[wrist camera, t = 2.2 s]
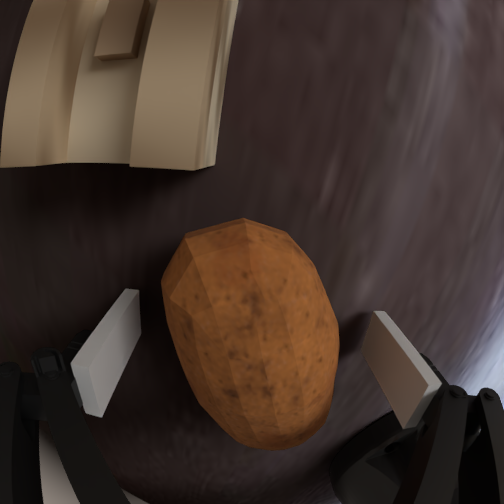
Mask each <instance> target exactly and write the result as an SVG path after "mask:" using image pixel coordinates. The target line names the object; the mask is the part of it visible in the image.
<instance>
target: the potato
mask: <svg viewBox="0 0 504 504" xmlns="http://www.w3.org/2000/svg"><path fill="white" fill-rule="evenodd" d="M161 287H162V293H163V300H164V306H165V312H166V318H167V323H168V326H169V330H170V333H171V336H172V339H173V342H174V345H175V349H176V352H177V355H178V357H179V360H180V363H181V365H182V368H183V370H184V373H185V375H186V378H187V380H188V382H189V384H190V386H191V388H192V390H193V392H194V394H195V396H196V398H197V400H198V402H199V404H200V405H201V406H202V407H203V408H204V409H205V410H206V411H207V412H208V414H209V415H210V416H211V417H212V418H213V419H214V420H215V421H216V422H217V423H218V424H219V425H220V427H221V428H222V429H223V430H224V431H226V432H227V433H228V434H229V435H230V436H231V437H232V438H234V439H235V440H236V441H237V442H239V443H242V444H244V445H246V446H248V447H251V448H257V449H264V450H271V451H273V450H284V449H288V448H291V447H295V446H298V445H300V444H302V443H304V442H305V441H306V440H308V439H309V438H310V437H311V436H313V435H314V434H315V433H316V432H317V431H318V430H319V429H320V428H321V427H322V426H323V425H324V423H325V421H326V419H327V416H328V413H329V410H330V406H331V402H332V397H333V392H334V379H335V374H336V370H337V365H338V356H339V329H338V322H337V320H336V317H335V315H334V312H333V310H332V307H331V304H330V302H329V300H328V297H327V295H326V292H325V290H324V287H323V285H322V282H321V280H320V278H319V275H318V273H317V270H316V268H315V266H314V264H313V263H312V261H311V260H310V259H309V258H308V256H307V255H306V254H305V253H304V252H303V251H302V249H301V248H300V247H299V246H298V245H297V244H296V243H295V242H294V240H293V239H292V238H291V237H290V236H289V235H288V234H287V233H286V232H285V231H282V230H279V229H276V228H273V227H270V226H267V225H264V224H260V223H257V222H254V221H251V220H248V219H245V218H241V219H237V220H233V221H229V222H226V223H222V224H218V225H215V226H211V227H207V228H203V229H200V230H196V231H193V232H189V233H186V234H185V236H184V237H183V239H182V241H181V243H180V244H179V246H178V248H177V250H176V252H175V253H174V255H173V257H172V259H171V261H170V262H169V264H168V266H167V268H166V270H165V271H164V274H163V277H162V280H161Z"/></svg>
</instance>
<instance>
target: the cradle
mask: <svg viewBox="0 0 504 504" xmlns="http://www.w3.org/2000/svg"><path fill="white" fill-rule="evenodd" d="M237 6H238V0H33V3H32V5H31V8H30V11H29V13H28V16H27V19H26V22H25V25H24V28H23V31H22V35H21V38H20V42H19V45H18V49H17V53H16V56H15V60H14V65H13V69H12V74H11V78H10V83H9V89H8V94H7V100H6V107H5V114H4V122H3V132H2V143H1V160H0V168H4V167H24V166H40V165H49V164H59V163H128V164H130V167H148V168H165V169H180V170H198V169H201V168H205V167H209V166H213V165H215V158H216V149H217V141H218V132H219V124H220V116H221V109H222V101H223V94H224V87H225V80H226V73H227V66H228V60H229V53H230V47H231V41H232V35H233V29H234V23H235V17H236V11H237Z"/></svg>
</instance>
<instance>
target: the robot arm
mask: <svg viewBox="0 0 504 504" xmlns="http://www.w3.org/2000/svg"><path fill="white" fill-rule="evenodd" d="M140 335H141V322H140V303H139V290H134V289H125V290H124V291H123V293H122V294H121V295H120V297H119V298H118V299H117V300H116V302H115V303H114V304H113V306H112V307H111V308H110V310H109V311H108V312H107V314H106V315H105V316H104V317H103V319H102V320H101V322H100V323H99V324H98V326H97V327H96V328H95V330H94V331H89V330H83V331H81V332H80V333H78V334H76V336H75V337H74V338H73V340H72V341H71V342H70V343H69V345H68V346H67V347H66V349H65V350H64V351H63V353H62V354H61V353H60V351H59V350H57V349H55V348H52V347H43V348H40V349H38V350H36V351H35V352H34V353H33V354H32V355H31V363H32V366H33V369H34V372H35V373H24V372H21V369H20V367H19V366H18V364H16V363H14V362H4V363H1V364H0V504H43V497H42V488H41V476H40V461H39V420H43V421H48V424H49V427H50V430H51V434H52V437H53V440H54V442H55V445H56V448H57V451H58V454H59V456H60V459H61V462H62V464H63V466H64V469H65V471H66V474H67V476H68V479H69V481H70V483H71V485H72V487H73V490H74V492H75V494H76V496H77V498H78V500H79V502H80V504H130V502H129V501H128V499H127V498H126V496H125V494H124V493H123V491H122V490H121V488H120V486H119V485H118V483H117V481H116V480H115V478H114V476H113V474H112V473H111V471H110V469H109V467H108V465H107V464H106V462H105V460H104V458H103V456H102V454H101V452H100V450H99V448H98V446H97V444H96V442H95V440H94V438H93V436H92V434H91V432H90V430H89V427H88V425H87V423H86V421H85V419H84V416H83V414H82V412H81V409H80V408H81V406H82V404H83V407H84V410H85V413H87V414H91V415H94V416H98V417H102V416H103V414H104V412H105V409H106V407H107V405H108V403H109V400H110V398H111V396H112V394H113V392H114V389H115V387H116V385H117V383H118V381H119V379H120V376H121V374H122V372H123V370H124V368H125V366H126V364H127V362H128V360H129V358H130V355H131V353H132V351H133V349H134V347H135V345H136V343H137V341H138V339H139V337H140ZM361 352H362V354H363V356H364V358H365V359H366V361H367V363H368V365H369V367H370V368H371V370H372V372H373V374H374V376H375V377H376V379H377V381H378V383H379V385H380V387H381V388H382V390H383V392H384V394H385V396H386V398H387V400H388V401H389V403H390V405H391V407H392V409H393V411H394V412H393V413H391V414H389V415H387V416H386V417H384V418H382V419H380V420H379V421H377V422H376V423H374V424H373V425H371V426H369V427H368V428H367V429H365V430H364V431H362V432H361V433H360V434H358V435H357V436H356V437H355V438H353V439H352V440H351V441H350V442H349V443H348V444H347V445H346V446H345V447H344V448H343V449H342V450H341V451H340V452H339V453H338V454H337V456H336V457H335V458H334V460H333V462H332V464H331V466H330V471H329V474H330V478H331V482H332V486H333V490H334V493H335V495H336V496H337V498H338V499H339V500H340V502H341V503H342V504H504V409H503V406H502V403H501V400H500V397H499V396H498V394H497V393H496V392H495V391H494V390H493V389H489V388H482V389H481V390H480V392H479V393H478V395H477V396H472V395H468V394H467V393H466V391H465V390H464V389H462V388H461V387H459V386H456V385H449V384H448V382H447V381H446V380H445V379H444V377H443V376H442V375H441V373H440V372H439V371H437V368H436V367H435V366H433V363H432V362H431V361H430V360H429V358H427V357H426V356H425V355H423V354H422V353H418V352H417V350H416V349H415V348H414V347H413V345H412V344H411V343H410V342H409V340H408V339H407V338H406V337H405V335H404V334H403V333H402V332H401V330H400V329H399V328H398V327H397V326H396V324H395V323H394V322H393V321H392V319H391V318H390V317H389V316H388V315H387V313H386V312H385V311H373V314H372V317H371V320H370V323H369V326H368V329H367V332H366V335H365V338H364V341H363V344H362V347H361ZM480 429H481V430H480Z"/></svg>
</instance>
